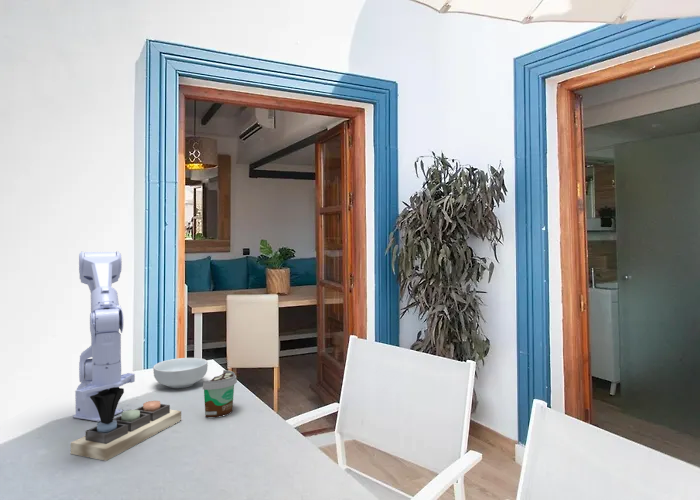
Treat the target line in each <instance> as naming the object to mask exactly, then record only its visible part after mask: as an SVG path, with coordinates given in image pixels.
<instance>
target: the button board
mask: <svg viewBox="0 0 700 500" xmlns="http://www.w3.org/2000/svg"><path fill="white" fill-rule="evenodd" d="M134 410H139V411H140V418H139V419H136V420H134V421H132V422H128V421H122V414H121V415H120V416H117V417H115V418H113V420H116V421H117V429H115V430H113V431H111V432H109V433H101V432H97V425H96V426H93V427H92V428H89V429H87V430H85V431H84V432H85V433H84V434H85V436H83V437H80V438H78V439H75V440H73V441H71V442H70V455H76V456H80V457H84V456H85V458H89V457H90V458H91V459H95V460H100V461H104V462H106V461H108V460H110V459H113V458H114V457H116V456H118V455H120V454H121V453H123V452H125V451H127V450H129V449H131V448H133V447H134V446H137V445H138V443H139V444H141V443H142V442H144V441H146V440H148V439H150V438H151V436H152V437H153V435H154V436H155V435H157V434H159V433H161V432H163V431H165V430H167V429H169V428H170V427H173V426H174V425H176V424H178V423H180V422H181V421H182V410H175V409H174V410H173V409H171V406H170V404H163V403H160V409H158V410H156V411H154V412H150V411H143V405H141V406H140V407H138V408H135V409H134ZM180 420H181V421H180ZM179 421H180V422H179ZM177 422H178V423H177ZM175 423H176V424H175ZM169 426H170V427H169ZM168 427H169V428H168ZM166 428H167V429H166ZM164 429H165V430H164ZM162 430H163V431H162ZM160 431H161V432H160ZM158 432H159V433H158ZM149 437H150V438H149ZM147 438H148V439H147ZM145 439H146V440H145ZM136 444H137V445H136ZM90 458H89V459H90Z"/></svg>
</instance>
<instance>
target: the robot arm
mask: <svg viewBox="0 0 700 500" xmlns="http://www.w3.org/2000/svg"><path fill="white" fill-rule="evenodd" d="M122 262H123V261H122V253H120V251H118V250H117V251H80V252H79V254H78V274H79V280H80V283H81V284H85V285H87V286H88V289H89V292H90V314H89V332H90V338H91V339H90V340H91V341H90V346H89V347H87V348H86V349H84V350H83V351H82V352H81V353H80V355H79V362H78V363H79V364H78V365H79V366H78V368H79V369H78V373H79V374H78V376H79V377H78V378H79V383H80V384H79V385H78V386H77V387H76V390H75V391H74V392H75V414H72V418H75V419H81V420H87V421H92V422H97V423H99V422H101V423H106V424H109V423H111V422H113V419H114V417H115V416H116V415H118V414H122V413H123V412H124V410H123V409H121V408H120V409H119V408H117V407H118V405H119V402H120V400H121V398H122V396H123V394H124V393H125V389H124V388H123V387H122V386H124V385H126V384H132V383H134V382H135V379H136V378H135V377H136V376H135V375H136V374H135V373H132V372H126V373H124V374H122V340H121V339H122V333H123V330H124V313H123V309H122V307H121V305H120V303H119V294H118V292H117V290H116V289H115V288H114V287H112V284H114V283H117V282H118V281H119V279H120V277H121V272H122V266H123V265H122Z"/></svg>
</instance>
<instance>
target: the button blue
mask: <svg viewBox="0 0 700 500" xmlns="http://www.w3.org/2000/svg"><path fill="white" fill-rule="evenodd" d="M96 426H97V432H101V433H109V432H111V431H113V430H115V429H117V421H116V420H113V422H111V423H109V424H106V423H101V421H99V422H97V423H96Z"/></svg>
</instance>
